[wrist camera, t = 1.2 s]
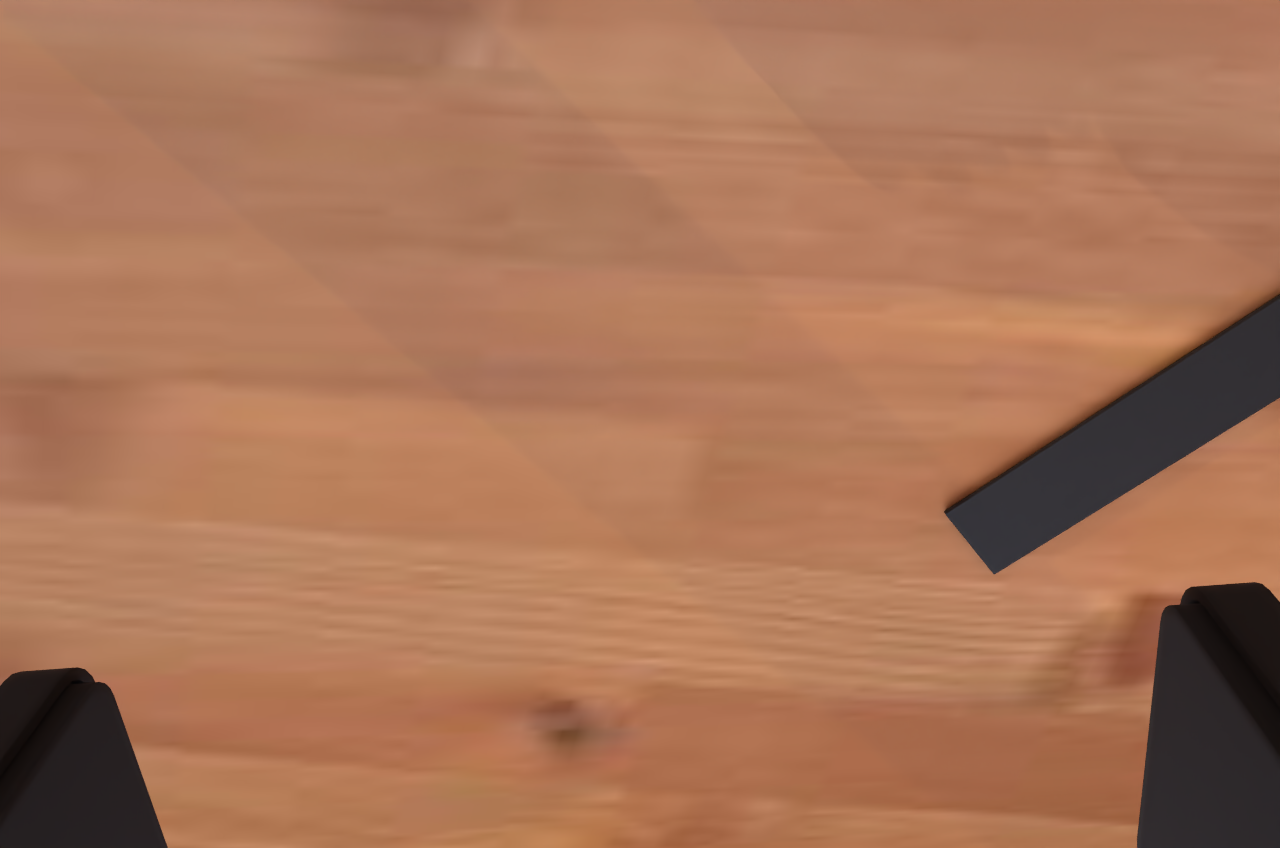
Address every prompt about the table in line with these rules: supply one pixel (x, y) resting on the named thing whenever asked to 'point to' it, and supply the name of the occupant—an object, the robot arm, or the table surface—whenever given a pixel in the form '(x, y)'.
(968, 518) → the strip
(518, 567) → the table surface
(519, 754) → the table surface
